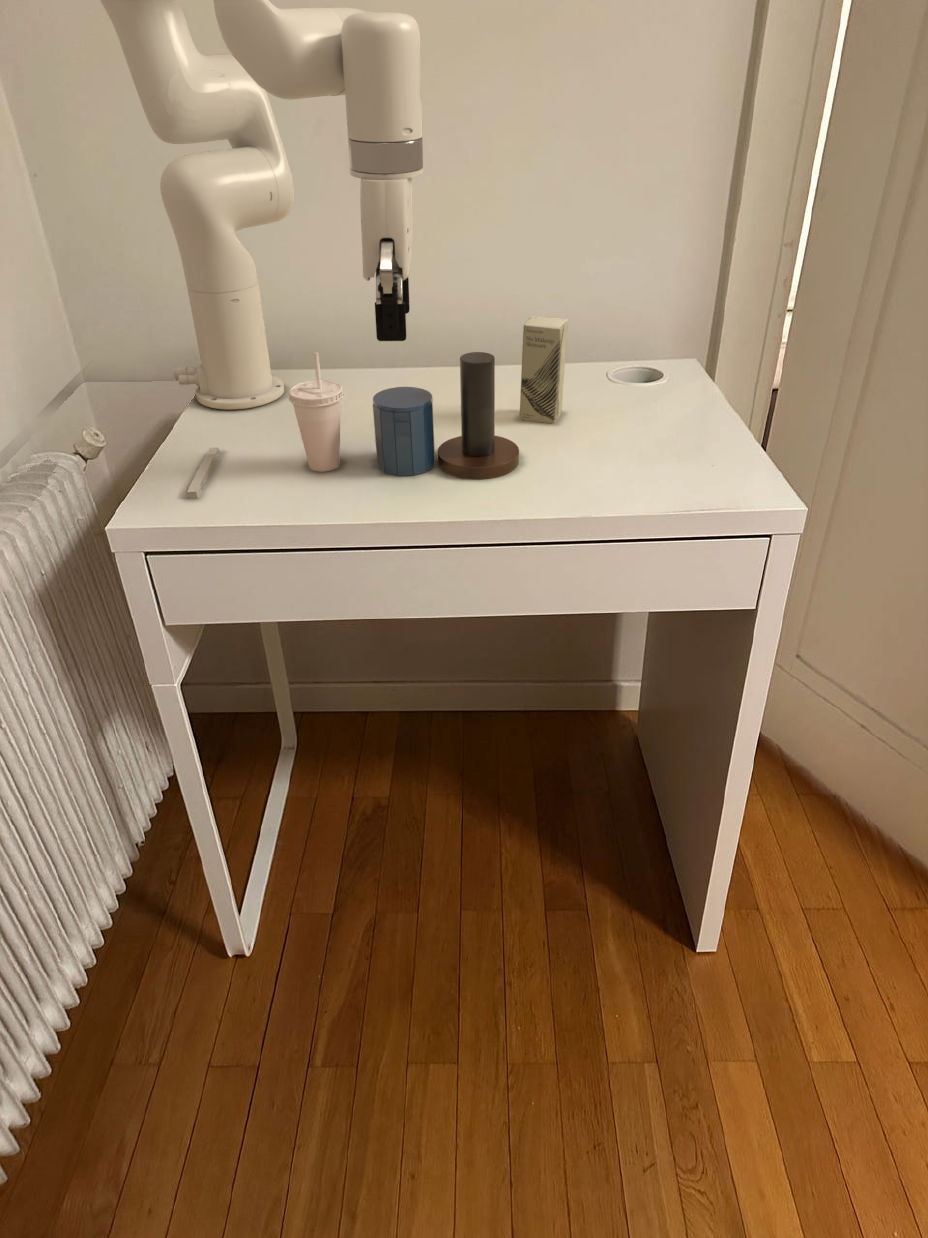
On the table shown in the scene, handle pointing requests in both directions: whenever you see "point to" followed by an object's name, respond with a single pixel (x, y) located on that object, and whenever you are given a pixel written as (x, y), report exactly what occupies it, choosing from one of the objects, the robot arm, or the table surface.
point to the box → (543, 368)
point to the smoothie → (319, 419)
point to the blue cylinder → (404, 430)
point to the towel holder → (478, 426)
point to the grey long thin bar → (203, 473)
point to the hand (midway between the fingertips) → (393, 325)
